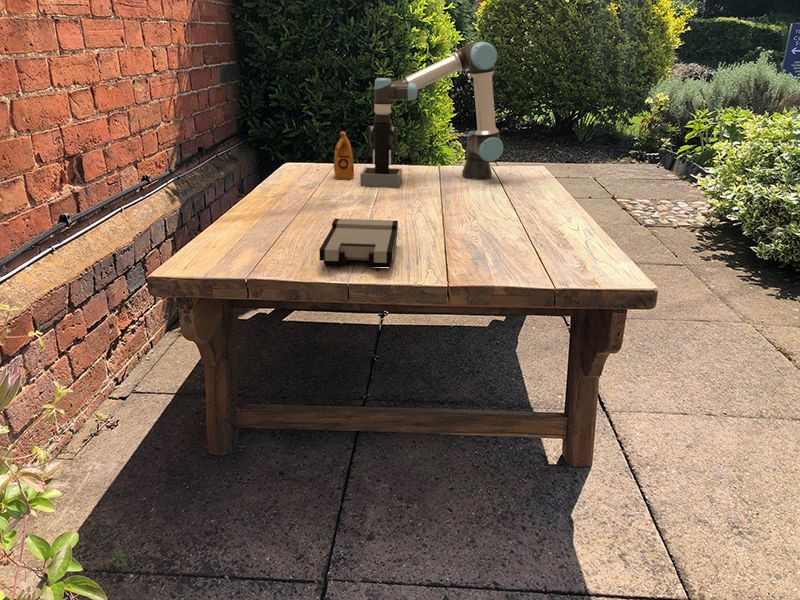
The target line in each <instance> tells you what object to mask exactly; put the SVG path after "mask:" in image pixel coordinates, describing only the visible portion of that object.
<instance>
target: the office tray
mask: <svg viewBox="0 0 800 600" xmlns="http://www.w3.org/2000/svg"><path fill="white" fill-rule="evenodd" d="M398 231H399V220H391V219H386V220H384V219H364V218H363V219H359V218H358V219H357V218H356V219H355V218H334V219H333V221H332V223H331V228H330V230H329V232H328V233H327V235H326V237H325V238H324V240H323V243H322V244H321V246H320V247H319V261H323V265H324V266H325V267H327V266H332V267H331V268H333V266H337V267H336V268H346V267H347V265H348V262H349V261H366V262H367V261H368V267H369V268H370V267H390V268H391V265H390V264H392V263H393V262H394V260H395V255H396V249H397V244H398V243H397V241H398V235H399V232H398ZM340 266H341V267H340ZM342 266H343V267H342ZM345 266H346V267H345Z"/></svg>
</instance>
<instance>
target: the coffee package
mask: <svg viewBox="0 0 800 600" xmlns="http://www.w3.org/2000/svg"><path fill="white" fill-rule="evenodd" d="M339 135H340V139H339V140H338V142H337V143H336V145H335V148H334V155H333V168H334V169H333V171H334V175H335V178H336V179H337V180H338V179H339V180H341V179H352V180H353V178H354V176H355V170H354V168H355V167H354V155H353V151H352V146H351V142H350V140H349V139H348V137H347V132H346V131H343V130H342V131H341V132H339Z"/></svg>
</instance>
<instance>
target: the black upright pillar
mask: <svg viewBox="0 0 800 600" xmlns="http://www.w3.org/2000/svg"><path fill="white" fill-rule="evenodd" d="M375 125H376V130H375V129H374V134H375V135H376V140H375V141H376V143H375V146H374V149H375V164H374V168H375V174H389V168H390V165H389V150H390V146H389V143H388V141H389V140H388V135H389V136H390V130H391V129H390V130H389V129H388V126H389V124H387V123H376V124H375ZM375 135H374V136H375Z"/></svg>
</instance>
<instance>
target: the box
mask: <svg viewBox="0 0 800 600" xmlns="http://www.w3.org/2000/svg"><path fill="white" fill-rule="evenodd" d="M359 175H360V186H365V187H364V188H381V187H387V188H388V189H400V187H401V184H402V182H403V168H397V167H395V168H390V167H389V174H375V167H364V168H363V170H362V171H361V172H360V173H359Z"/></svg>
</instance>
